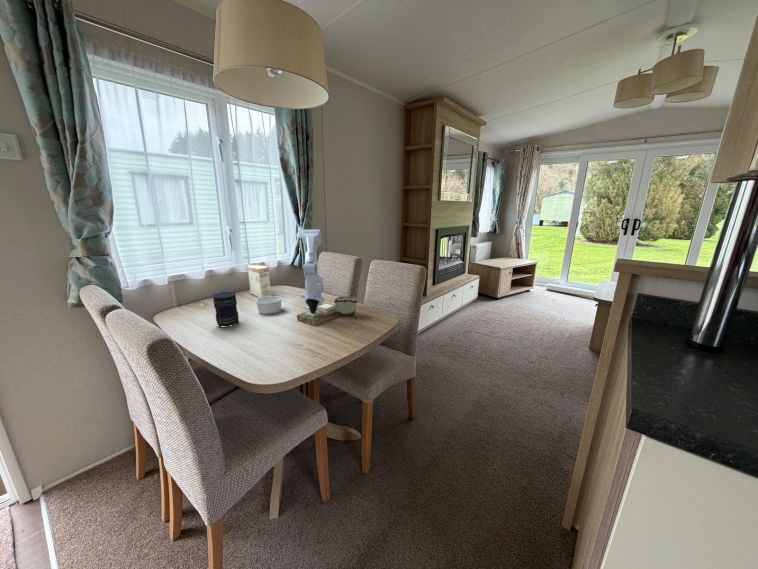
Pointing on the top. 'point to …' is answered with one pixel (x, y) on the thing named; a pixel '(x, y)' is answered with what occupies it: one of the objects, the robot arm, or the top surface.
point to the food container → (345, 307)
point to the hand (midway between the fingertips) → (313, 312)
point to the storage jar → (226, 308)
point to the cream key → (326, 307)
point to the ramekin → (269, 304)
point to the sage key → (313, 314)
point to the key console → (317, 317)
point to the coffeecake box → (259, 280)
